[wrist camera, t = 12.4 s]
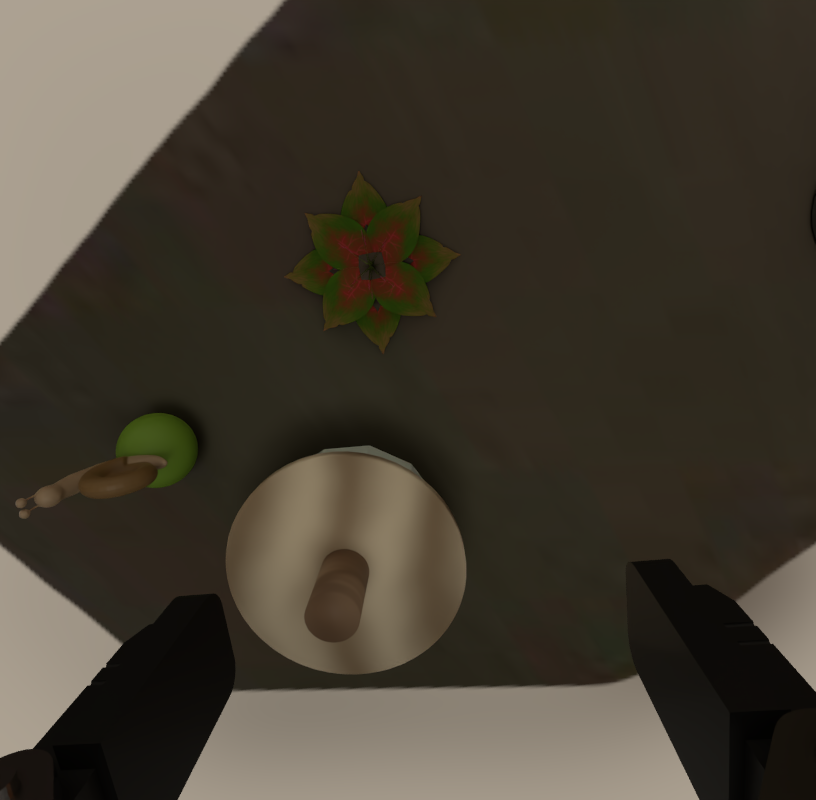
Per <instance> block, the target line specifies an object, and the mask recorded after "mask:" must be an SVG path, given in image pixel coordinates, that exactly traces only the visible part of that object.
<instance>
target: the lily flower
mask: <svg viewBox="0 0 816 800" xmlns="http://www.w3.org/2000/svg"><path fill="white" fill-rule="evenodd" d="M363 179H364V178H363V176H362V175H361V173H360V171H358V175H357V178H356V179H355V181H354V183H353V185H352V190H351V191H349V192H348V194H347V196H346V198H345V200H344V203H343V206H342V210H341V215H337V214H318V215H316V216H313V215H312V214H308V213H305V215H306V217H307V219H308V224H309V228H310V229H311V230H312V233H311V236H312V240H313V243H314V245H315V248H316V249H315V250H313V251H311V252H310V253H309V254H307V255H306V256H305V257H304V258H303V259H302V260H301V261H300V262H299V263H298V264H297V265H296V266H295V267H294V270H293V273H289V274H288V275H286V276H284V277H285V278H288V279H291V280H292V281H294V282H296V283H297V284H302V286H303V287H304V288H305V289H307V290H309V291H311V292H314V293H316V294H319V295H323V315H324V318H325V321H326V323H325V324H324V331H325V330H327V329H328V328H333V327H337V326H338V325H339V324H341V325H345V324H348V323H351V322H354V321H356V322H357V324H358V325H359V327H360V329H361V330H362V331H363V333H364V334H365V335H366V336H367V337H368V338H369V339H370V340H371V341H372V342H373V343H375V344H377V345H379V349H380V350H381V352H382V353H384V350H385V347H386V346H387V344H388V342H389V341H390V339H389V337H391V336H393V334H394V332H395V330H396V328H397V326H398V323H399V320H400V316H401V315H405V316H423V315H426V314H428V315H429V316H433V317H436V315H435V313H434V312H433V307H432V303H431V302H430V301H429V298H430V295H429V291H428V288H427V286H426V282H428V281H430V280H432V279H433V278H435V277H436V276H437V275H438V274H440V273H441V272H442V271H443V270H444V269H445V268H446V267H447V266H448V265H449V263H450V261H451V259H455V258H456V257H458V256H460V255H461V254H458V253H454V252H453V251H452V250H450V249H448V248H447V247H445V248H444V247H443V246H442V244H441V243H439V242H437V241H435V240H433V239H431V238H428V237H426V236H422V235H419V229H420V210H419V206H418V205H420V201H421V196H422V195H421V196H419V197H417V198H416V199H412V200H408V201H405V203H404V204H403V203H401V202H400V203H397V204H393V205H391V206H388V207H387V206H386V204H385V203H384V201H383V199H382V198H381V197H380V195H379V194H378V193H377V192H376V190H375V189H374V188H373V187H372V186H371V185H370V184H369V183H366V181H363ZM366 224H367V225H368V228H367V233H366V231H365V230H364V227H365V225H366ZM372 252H382V255H383V259H384V263H385V269H386V277H383V278H382V277H381V278H378V279H374V280H372V277H371V280H361V275H362V274H363V273H364V272H365V271H366V270H367V271H368V270H369V269H370V272H371V270H372V268H373V270H374V269H375V268H374V267H373V266H375V265H373V264H374V261H373V260H372V261H373V263H372V262H371V261H370V259H369V261H370V263H369V261H368V263H366V264H369V266H370V267H369V268H368V269H366V270H365V271H364V272H363V273H362V274H361V275H360V271H359V267H358V255H362V254H366V256H367V254H368V253H372ZM376 254H377V253H376ZM377 255H378V254H377ZM374 257H375V256H374ZM407 257H408V258H410V259H412V260H414V261H413V262H412V263H411V264H407V263H405V262H402V261H403V260H405V259H406V258H407ZM368 258H369V256H368ZM368 258H367V260H368ZM375 258H376V257H375ZM373 259H374V258H373ZM374 260H375V259H374ZM361 261H362V259H361ZM364 263H365V261H364ZM384 263H383V264H384ZM371 265H372V266H371ZM377 265H378V264H377ZM362 267H363V266H362ZM364 267H366V266H364ZM332 268H336V269H339V270H340V271H338V272H336V273H335V274H333V273H331V272H329V271H330V270H331V269H332ZM375 270H376V269H375ZM375 270H374V271H375ZM376 271H377V270H376ZM376 271H375V272H376ZM370 272H369V279H370ZM377 272H378V271H377ZM377 272H376V273H377ZM378 273H379V272H378ZM378 273H377V274H378ZM379 274H380V273H379ZM380 275H381V274H380ZM375 297H376V299H377V301H378V302H379V303H380V304H381V306H380V308H379V311H378V312H377V310H376V309H375V308H374V306H373V303H374V301H375Z"/></svg>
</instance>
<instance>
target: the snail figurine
mask: <svg viewBox="0 0 816 800" xmlns="http://www.w3.org/2000/svg"><path fill="white" fill-rule="evenodd" d="M197 455H198V443H197V439H196V436H195V434H194V432H193V430H192V429H191V428H190V426H189V425H188V424H187V423H185V422H184V421H183V420H181V419H180V418H178V417H176V416H173V415H170V414H165V413H152V414H147V415H144V416H141V417H139V418H137V419H135V420H134V421H132V422H131V423H130V424H129V425H127V426H126V428H125V429H124V430H123V431H122V433H121V434H120V436H119V439H118V441H117V445H116V458H115V459H112V460H109V461H106V462H103V463H100V464H97V465H95V466H92V467H90V468H87V469H84V470H81V471H79V472H76V473H73V474H71V475H69V476H67V477H65V478H63V479H61V480H60V481H58V482H56V483H55V484H53V485H49V486H45V487H43V488H41V489H39V490H38V491H37V492H36V494H35V495H33V496H31V497H29V498H27V499H26V500H25V499H23V498H20V499H18V500H17V501H16V506H17V507H18V508H23V507H25V506H26V504H27V500H28V499H30V498H33V497H34V501H35V503H36V504H37V506H35V507H34V508H32V509H30V510H28V509H23V510H21V511H20V512H19V516H20V517H21V518H23V519H25V518H28V517H29V516H30V511H31V510H33V509H35V508H37V507H39V506H41V507H52V506H55V505H56V504H58V503H59V502H60V501H61V500H62V499H64V498H67V497H70V496H72V495H74V494H77V493H79V492H81V493H82V494H83V495H84V496H86V497H88V498H94V499H105V498H113V497H118V496H123V495H126V494H130V493H132V492H135V491H138V490H140V489H142V488H145V487H150V488H160V487H166V486H170V485H172V484H175V483H177V482H178V481H180V480H181V479H183V478H184V477H185V476H186V475H187V474H188V473H189V472H190V471H191V469H192V468H193V466H194V464H195V462H196V459H197Z"/></svg>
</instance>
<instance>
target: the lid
mask: <svg viewBox="0 0 816 800" xmlns="http://www.w3.org/2000/svg"><path fill="white" fill-rule="evenodd" d="M226 571H227V579H228V583H229V587H230V590H231V594H232V596H233V599H234V601H235V603H236V606H237V608H238V609H239V611H240V613H241V614H242V616H243V618H244V619H245V621H246V622H247V623H248V625H249V626H250V627H251V628H252V630H253V631H254V632H255V633H256V634H257V635H258V636H259V637H260V638H261V639H262V640H263V641H264V642H265V643H267V644H268V645H269V646H270V647H272V648H273V649H274V650H275V651H277V652H279V653H280V654H282V655H283V656H285V657H287V658H289V659H291V660H293V661H295V662H297V663H299V664H301V665H304V666H307V667H310V668H313V669H316V670H320V671H325V672H329V673H338V674H366V673H374V672H379V671H383V670H387V669H390V668H393V667H396V666H399V665H401V664H404V663H406V662H408V661H410V660H411V659H413V658H415V657H417V656H418V655H420V654H421V653H423V652H424V651H426V650H427V649H428V648H429V647H430V646H432V645H433V644H434V643H435V642H436V641H437V640H438V639H439V638H440V637H441V636H442V634H443V633H444V632H445V631H446V630H447V628H448V627H449V625H450V624H451V622H452V621H453V619H454V617H455V615H456V613H457V611H458V609H459V606H460V604H461V601H462V597H463V594H464V590H465V582H466V558H465V551H464V545H463V539H462V536H461V533H460V530H459V527H458V524H457V522H456V520H455V518H454V516H453V514H452V512H451V511H450V509H449V507H448V506H447V504H446V503H445V501H444V500H443V499H442V498H441V496H440V495H439V494H438V493H437V492H436V491H435V489H433V488H432V487H431V486H430V485H429V484H428V483H427V482H426V481H425V480H423V479H422V478H421V477H419V476H418V475H416V474H415V473H414V472H412V471H411V470H409V469H407V468H405V467H403V466H401V465H399V464H398V463H396V462H393V461H390V460H388V459H385V458H382V457H379V456H375V455H371V454H366V453H359V452H349V451H341V452H327V453H320V454H315V455H311V456H308V457H304V458H301V459H298V460H296V461H294V462H291V463H289V464H287V465H285V466H284V467H282V468H280V469H279V470H277V471H275V472H274V473H273V474H271V475H270V476H269V477H268V478H266V479H265V480H264V481H263V482H262V483H261V484H260V485H259V486H258V487H257V488H256V489H255V490H254V491H253V492H252V494H251V495H250V496H249V497H248V499H247V500H246V501H245V503H244V504H243V506H242V507H241V509H240V510H239V512H238V514H237V516H236V518H235V520H234V522H233V524H232V528H231V531H230V534H229V537H228V543H227V549H226Z"/></svg>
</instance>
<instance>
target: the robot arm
mask: <svg viewBox="0 0 816 800" xmlns="http://www.w3.org/2000/svg"><path fill="white" fill-rule="evenodd" d="M812 226H813V231H814V235H815V239H816V195H815V198H814V204H813V210H812ZM626 592H627V617H628V637H629V644H630V650H631V654H632V658H633V661H634V664H635V667H636V670H637V672H638V674H639V676H640V678H641V680H642V682H643V684H644V686H645V688H646V691H647V693H648V695H649V697H650V699H651V701H652V703H653V705H654V707H655V709H656V711H657V713H658V715H659V717H660V719H661V721H662V724H663V726H664V728H665V730H666V732H667V734H668V736H669V738H670V740H671V742H672V744H673V746H674V748H675V750H676V752H677V754H678V756H679V759H680V761H681V763H682V765H683V767H684V769H685V771H686V773H687V775H688V777H689V779H690V781H691V783H692V785H693V787H694V789H695V791H696V794H697V796H698V798H699V800H816V692H815V691H814V690H813V689H812V687H811V686H810V685H809V684H808V683H807V682H806V681H805V679H804V678H803V677H802V676H801V675H800V674H799V673H798V672H797V670H796V669H795V668H794V667H793V666H792V665H791V664H790V663H789V661H788V660H787V659H786V658H785V657H784V656H783V655H782V654H781V652H780V651H779V650H778V649H777V648H776V647H775V646H774V645H773V644H770V642H769V639H768V638H767V637H766V636H765V634H764V633H763V632H762V631H761V630H760V629H759V628H758V627H757V626H754V624H753V621H752V620H751V619H750V618H749V616H748V615H747V614H746V613H745V612H744V611H743V610H742V608H741V607H740V606H739V605H738V604H737V603H736V602H735V601H734V600H732V599H731V598H729V597H727V596H726V595H724V594H722V593H721V592H719V591H717V590H716V589H714V588H712V587H711V586H709V585H695V586H693V585H692V584H691V583H690V582H689V580H688V579H687V578H686V577H685V575H684V574H683V573H682V572H681V570H680V569H679V568H678V567H677V565H676V564H675V563H674V562H673V561H672V560H671V559H662V560H649V561H637V562H628V564H627V566H626ZM106 664H107V665H106V668H102V669H101V671H100V672H99V673H98V674H97V675H96V676H95V678H94V679H93V680H92V681H91V685H90V686H87V687H86V688H85V689H84V690H83V691H82V692H81V694H80V695H79V696H78V697H77V698H76V699H75V701H74V702H73V703H72V704H71V705H70V706H69V708H68V709H67V710H66V711H65V712H64V713H63V714H62V716H61V717H60V718H59V719H58V720H57V722H56V723H55V724H54V725H53V726H52V727H51V728H50V730H49V731H48V732H47V733H46V734H45V736H44V737H43V738H42V739H41V740H40V741H39V742H38V743H37V745H36V746H35V747H34V748H33V749H29V750H28V749H27V750H23V751H18V752H15V753H12V754H9V755H6V756H4V757H2V758H0V800H178V798H179V796H180V794H181V792H182V790H183V788H184V786H185V784H186V782H187V780H188V778H189V776H190V774H191V772H192V770H193V768H194V766H195V764H196V762H197V760H198V758H199V756H200V754H201V752H202V750H203V748H204V746H205V744H206V742H207V740H208V738H209V736H210V734H211V732H212V730H213V728H214V726H215V725H216V722H217V721H218V718H219V717H220V715H221V712H222V711H223V709H224V707H225V705H226V703H227V701H228V699H229V697H230V695H231V692H232V689H233V685H234V680H235V659H234V654H233V650H232V645H231V641H230V637H229V632H228V628H227V624H226V619H225V615H224V611H223V606H222V603H221V600H220V598H219V597H218V596H217V595H216V594H202V595H189V596H179V597H176V598H175V599H174V600H173V601H172V602H171V603H170V604H169V605H168V607H167V608H166V609H165V610H164V611H163V613H162V614H161V615H160V616H159V617H158V619H157V620H156V621H155V622H154V623H153V624H149V625H148V626H147V627H145V628H144V629H143V630H141V631H140V632H138V633H137V634H136V635H134V636H133V637H132V638H130V639H129V640H127V641H126V642H125V643H124V644H123V645H122V646H121V647H120V649H119V650H118V651H117V652H116V653H115V654H114V655H113V657H112V658H111V659H110V660H109V661H108V662H107V663H106Z"/></svg>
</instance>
